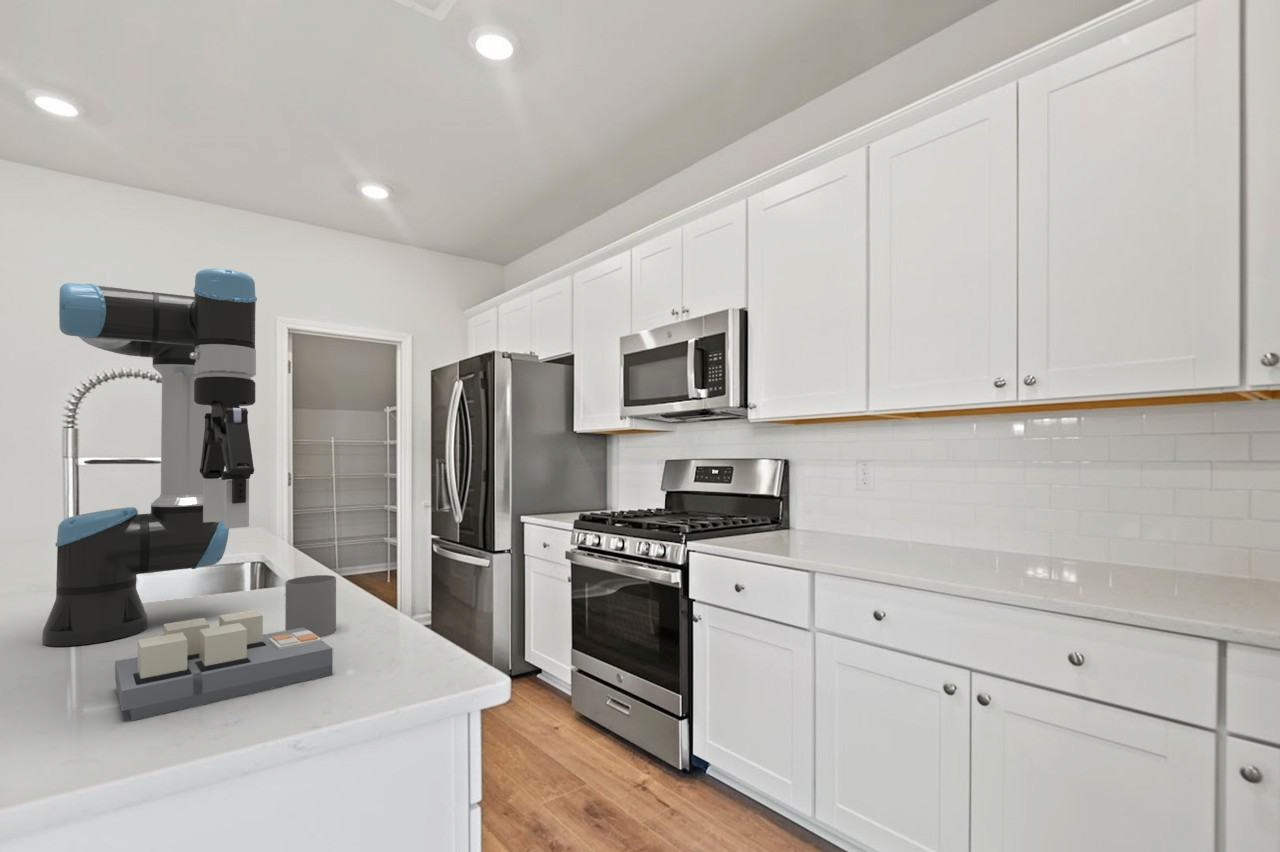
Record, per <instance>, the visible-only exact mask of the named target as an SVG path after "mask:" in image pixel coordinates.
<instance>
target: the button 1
mask: <svg viewBox="0 0 1280 852" xmlns="http://www.w3.org/2000/svg"><path fill="white" fill-rule="evenodd" d="M137 657H138V672H139V675H140V678H141V679H142V678H147V677H152V676H157V675H162V674H167V673H172V672H177V671H183V670H187V638H186V637H185V635H184V634H183V632H181V633H175V634H169V635H164V634H163V635H157V636H153V637H147V638H139V639H137Z"/></svg>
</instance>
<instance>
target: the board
mask: <svg viewBox="0 0 1280 852" xmlns="http://www.w3.org/2000/svg"><path fill="white" fill-rule="evenodd" d="M329 676H333V647H331V646H330V645H329V644H328V643H326V642H324V640H322V637H320V638H319V637H318V636H316V635H315V634H314V633H312V632H311V631H309V630H307V629H305V628H304V627H303V628H297V629H292V630H286V631H285V630H281V631H276V632H275V631H274V632H270V633H265V634H264V633H263V642H257V643H252V644H247V658H244V659H238V660H233V661H228V662H223V663H218V664H213V665H208V666H204V664H203V662H202V661H201V659H200V658H199V653H198V654H192V655H187V670H183V671H177V672H172V673H167V674H162V675H157V676H152V677H147V678H142V679H141V678H140V675H139V672H138V656H137V657H131V658H130V657H129V658H125V659H120V660H119V659H118V660H115V661H114V681H115V685H116V690H117V694H118V695H117V696H118V700H119V703H120V704H119V705H120V709H121V711H122V712H123V711H124V712H125V711H129V716H130V719H131V721H132V722H133V721H136V720H140V719H141V720H142V719H145V718H150V717H154V716H159V715H163V714H168V713H172V712H176V711H179V710H184V709H189V708H194V707H198V706H202V705H205V704H211V703H215V702H219V701H224V700H228V699H233V698H238V697H241V696H246V695H247V696H248V695H251V694H255V693H259V692H263V691H269V690H273V689H277V688H282V687H285V686H289V685H293V684H298V683H302V682H303V683H304V682H307V681H311V680H316V679H320V678H325V677H329Z"/></svg>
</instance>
